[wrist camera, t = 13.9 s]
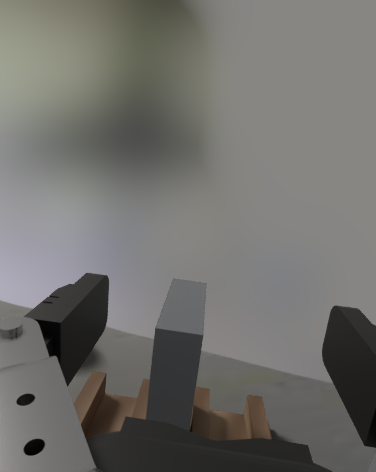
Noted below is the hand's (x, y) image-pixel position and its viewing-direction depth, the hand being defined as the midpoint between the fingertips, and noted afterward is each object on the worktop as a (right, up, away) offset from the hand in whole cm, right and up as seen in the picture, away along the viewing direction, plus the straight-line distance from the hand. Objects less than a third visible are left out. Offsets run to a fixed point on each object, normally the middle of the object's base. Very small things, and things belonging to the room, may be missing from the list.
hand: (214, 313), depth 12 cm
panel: (-3, -17, +16) cm, 24 cm away
